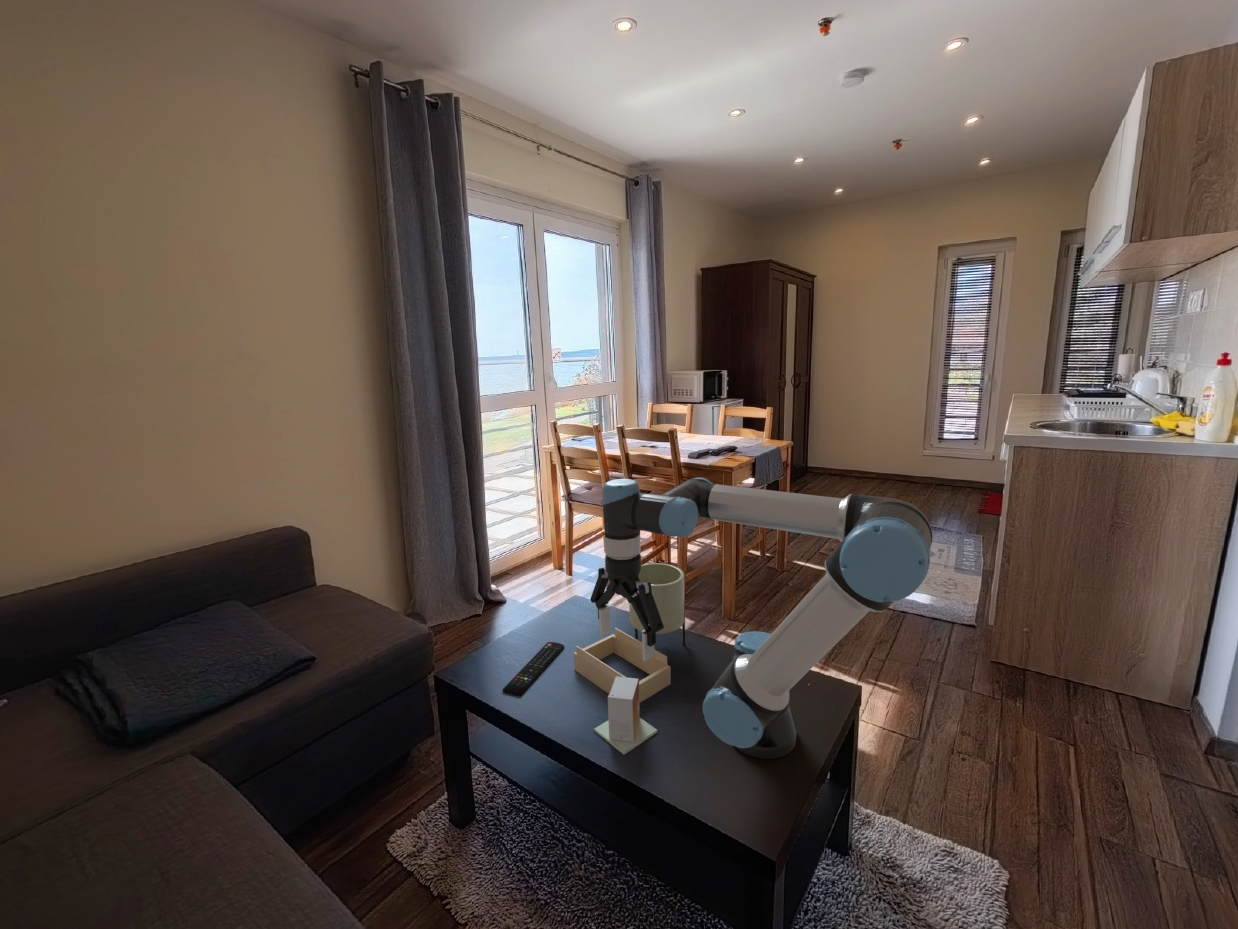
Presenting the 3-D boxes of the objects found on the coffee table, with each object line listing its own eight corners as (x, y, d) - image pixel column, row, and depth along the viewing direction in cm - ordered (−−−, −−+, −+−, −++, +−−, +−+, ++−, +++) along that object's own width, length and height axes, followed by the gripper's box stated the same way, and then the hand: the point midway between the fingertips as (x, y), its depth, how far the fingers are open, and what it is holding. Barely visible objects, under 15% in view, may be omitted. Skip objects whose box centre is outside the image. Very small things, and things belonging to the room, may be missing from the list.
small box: (633, 743, 118) (632, 700, 115) (608, 740, 119) (607, 697, 117) (640, 718, 125) (639, 678, 123) (616, 715, 127) (615, 675, 124)
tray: (670, 684, 139) (670, 657, 137) (630, 709, 130) (629, 681, 128) (614, 649, 155) (613, 626, 153) (574, 669, 146) (573, 644, 144)
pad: (657, 732, 122) (657, 729, 122) (624, 755, 115) (623, 752, 115) (627, 710, 129) (627, 708, 129) (594, 731, 123) (594, 728, 123)
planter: (652, 629, 166) (651, 558, 160) (695, 648, 155) (695, 572, 150) (617, 649, 155) (615, 574, 150) (660, 671, 144) (659, 591, 139)
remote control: (502, 694, 137) (502, 689, 137) (549, 645, 159) (548, 641, 159) (520, 698, 136) (520, 693, 135) (565, 648, 157) (565, 644, 157)
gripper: (680, 564, 107) (681, 661, 111) (597, 535, 125) (601, 619, 129) (653, 575, 102) (655, 677, 106) (571, 543, 120) (576, 631, 125)
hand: (626, 645), depth 118 cm, fingers open, 13 cm apart
